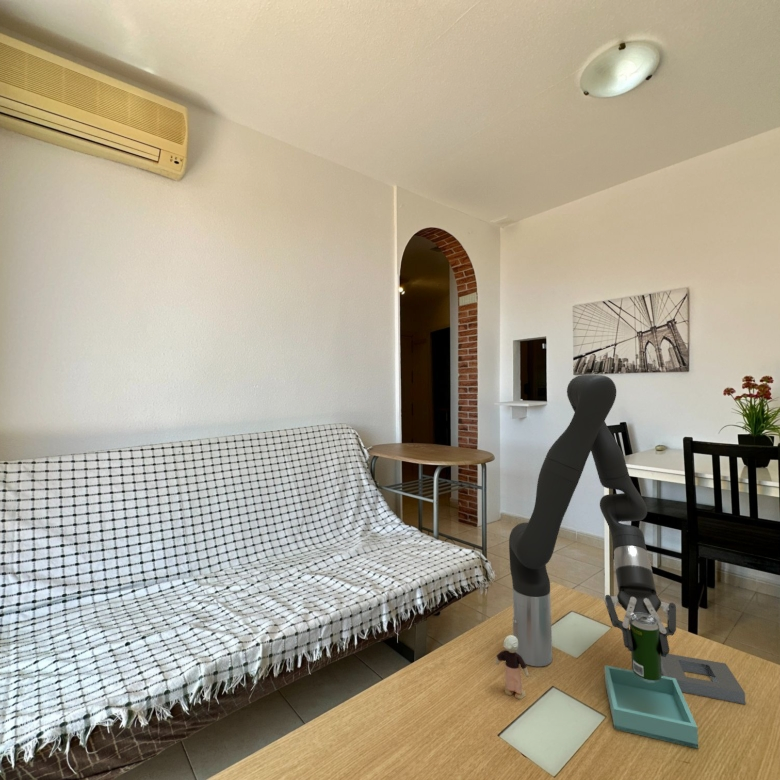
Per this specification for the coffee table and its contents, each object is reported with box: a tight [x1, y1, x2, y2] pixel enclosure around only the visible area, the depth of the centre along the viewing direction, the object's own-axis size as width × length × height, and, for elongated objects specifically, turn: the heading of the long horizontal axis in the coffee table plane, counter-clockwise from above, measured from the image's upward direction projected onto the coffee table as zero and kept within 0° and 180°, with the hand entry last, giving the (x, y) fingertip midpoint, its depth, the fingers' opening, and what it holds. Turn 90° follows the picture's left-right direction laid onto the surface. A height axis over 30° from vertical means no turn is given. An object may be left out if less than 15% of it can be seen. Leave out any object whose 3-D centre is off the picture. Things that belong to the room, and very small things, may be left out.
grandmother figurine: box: [494, 634, 530, 700], centre depth 93 cm, size 8×4×13 cm, turn 65°
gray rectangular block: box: [661, 653, 746, 705], centre depth 95 cm, size 14×10×2 cm
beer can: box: [629, 612, 663, 683], centre depth 87 cm, size 5×5×12 cm
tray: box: [604, 664, 699, 749], centre depth 86 cm, size 14×14×4 cm
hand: (647, 652), depth 85 cm, fingers closed on beer can, 5 cm apart
